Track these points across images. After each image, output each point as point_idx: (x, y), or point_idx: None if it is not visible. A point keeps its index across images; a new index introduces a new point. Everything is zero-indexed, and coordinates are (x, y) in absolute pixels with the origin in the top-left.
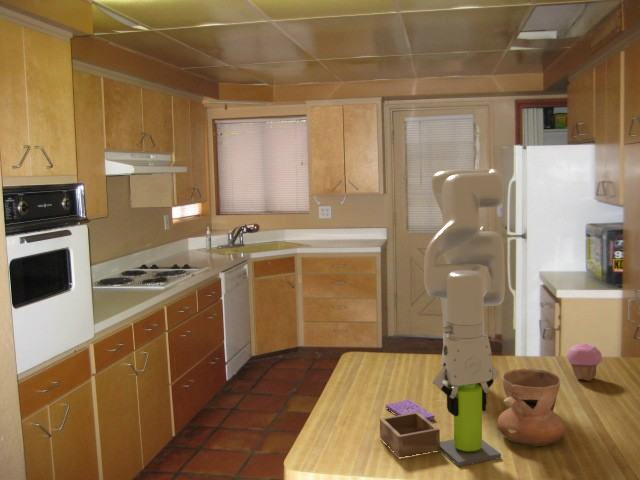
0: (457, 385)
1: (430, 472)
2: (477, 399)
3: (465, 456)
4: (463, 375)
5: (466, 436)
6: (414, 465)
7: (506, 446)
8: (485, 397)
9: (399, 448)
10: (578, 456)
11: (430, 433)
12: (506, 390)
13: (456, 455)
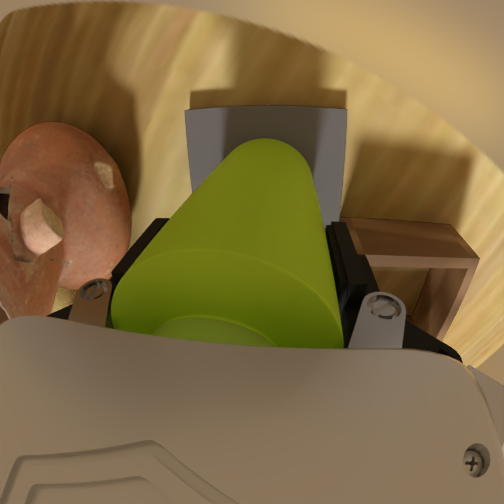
0: (426, 351)
1: (430, 123)
2: (200, 213)
3: (304, 134)
4: (347, 484)
5: (294, 158)
6: (442, 178)
7: (142, 172)
8: (124, 255)
9: (462, 239)
10: (29, 84)
11: (385, 250)
12: (34, 293)
13: (327, 152)
